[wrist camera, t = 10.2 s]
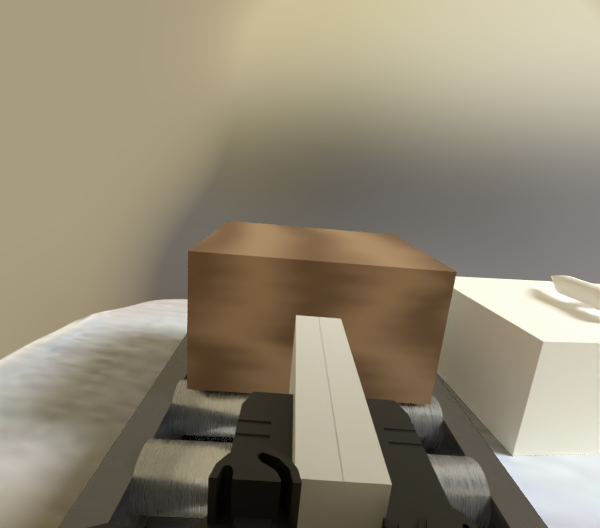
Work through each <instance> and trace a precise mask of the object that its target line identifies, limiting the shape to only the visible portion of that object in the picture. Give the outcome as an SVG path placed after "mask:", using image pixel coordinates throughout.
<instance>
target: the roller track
mask: <svg viewBox="0 0 600 528" xmlns="http://www.w3.org/2000/svg"><path fill="white" fill-rule="evenodd" d="M251 394H252V393H238V392H222V391H206V390H190V389H187V334H186V336H185V337H184V339H183V340H182V342H181V344H180V345H179V347H178V348H177V350H176V351H175V353H174V354H173V356H172V357H171V359H170V360H169V362H168V363H167V365H166V366H165V368H164V369H163V371H162V372H161V374H160V375H159V377H158V378H157V380H156V381H155V383H154V384H153V386H152V387H151V389H150V390H149V392H148V393H147V395H146V396H145V398H144V399H143V401H142V402H141V404H140V405H139V407H138V408H137V410H136V411H135V413H134V414H133V416H132V417H131V419H130V421H129V422H128V424H127V425H126V427H125V428H124V430H123V431H122V433H121V434H120V436H119V437H118V439H117V440H116V442H115V443H114V445H113V446H112V448H111V449H110V451H109V452H108V454H107V455H106V457H105V458H104V460H103V461H102V463H101V464H100V466H99V467H98V469H97V470H96V472H95V473H94V475H93V476H92V478H91V479H90V481H89V482H88V484H87V485H86V487H85V488H84V490H83V491H82V493H81V494H80V496H79V498H78V499H77V501H76V502H75V504H74V505H73V507H72V508H71V510H70V511H69V513H68V514H67V516H66V517H65V519H64V520H63V522H62V523H61V525H60V526H59V528H88V527H92V526H96V525H101V524H105V523H112V524H122V525H126V526H128V527H129V528H145V526H146V523H147V521H148V518H149V516H165V517H185V518H205V517H206V516H207V506H208V477H209V475H210V474H211V472H212V470H213V468H214V466H215V464H216V463H217V462H219V461H220V460H221V459H222V458H223V457H225V456H226V455H227V454H228V453H230V452H231V448H232V444H233V443H223V442H206V441H188V440H181V439H182V437H183V435H198V436H216V437H233V438H234V436H235V431H236V427H237V423H238V419H239V415H240V410H241V406H242V403H243V402H244V401H245V400H246V399H247V398H248V397H249V396H250V395H251ZM396 403H397V402H396ZM397 404H398V405H399V406H400V407H401V408H402V409H403V410H404V411H405V412H406V413H408V415H409V417H410V419H411V421H412V423H413V426H414V428H415V430H416V434H418V436H419V438H420V441H421V443H422V448H424V449H425V451H426V453H427V456H428V458H429V460H430V462H431V464H432V466H433V468H434V471H435V473H436V475H437V477H438V479H439V481H440V483H441V486H442V488H443V490H444V492H445V494H446V496H447V499H448V501H449V503H450V505H451V507H453V508H455V509H457V510H459V511H461V512H462V513H463V514H464V515H465V516H467V517H468V518H469V519H470V520H471V521H472V522H473V523H475V524H476V525H477V527H478V528H548V527H547V526H546V524H545V523H544V522H543V520H542V519H541V517H540V516H539V515H538V513H537V512H536V510H535V509H534V508H533V506H532V505H531V504H530V502H529V501H528V499H527V498H526V497H525V495H524V494H523V493H522V491H521V490H520V488H519V487H518V486H517V484H516V483H515V481H514V480H513V479H512V477H511V476H510V475H509V473H508V472H507V470H506V469H505V468H504V466H503V465H502V464H501V462H500V461H499V459H498V458H497V457H496V455H495V454H494V452H493V451H492V450H491V448H490V447H489V446H488V444H487V443H486V441H485V440H484V439H483V437H482V436H481V434H480V433H479V432H478V430H477V429H476V428H475V426H474V425H473V423H472V422H471V421H470V419H469V418H468V417H467V415H466V414H465V412H464V411H463V410H462V408H461V407H460V405H459V404H458V403H457V401H456V400H455V399H454V397H453V396H452V394H451V393H450V392H449V390H448V389H447V388H446V386H445V385H444V383H443V382H442V381H441V379H440V378H439V376H438V375H437V374H436V379H435V384H434V389H433V394H432V399H431V404H430V405H429V404H413V403H397Z"/></svg>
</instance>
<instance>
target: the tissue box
mask: <svg viewBox="0 0 600 528" xmlns="http://www.w3.org/2000/svg"><path fill="white" fill-rule="evenodd" d="M551 278H552V281H553V282H549V281H530V280H511V279H491V278H472V277H456V278H455V283H454V288H453V293H452V298H451V303H450V308H449V313H448V318H447V323H446V328H445V333H444V338H443V343H442V348H441V353H440V358H439V364H438V369H437V373H438V374H439V375H440V376H441V377H442V379H443V380H444V381H445V382H446V383H447V384H448V385H449V386H450V387H451V389H452V390H453V391H454V392H455V393H456V394H457V395H458V396H459V397H460V399H461V400H462V401H463V402H464V403H465V404H466V405H467V406H468V407H469V409H470V410H471V411H472V412H473V413H474V414H475V415H476V416H477V417H478V419H479V420H480V421H481V422H482V423H483V424H484V425H485V426H486V427H487V429H488V430H489V431H490V432H491V433H492V434H493V435H494V436H495V437H496V439H497V440H498V441H499V442H500V443H501V444H502V445H503V446H504V447H505V449H506V450H507V451H508V452H509V453H510V454H511V455H512V456H552V455H600V284H592V283H589V282H586V281H583V280H579V279H577V278H574V277H571V276H551Z"/></svg>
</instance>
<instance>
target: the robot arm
mask: <svg viewBox="0 0 600 528" xmlns="http://www.w3.org/2000/svg"><path fill="white" fill-rule="evenodd" d="M88 528H129V527H128V526H126V525H122V524H112V523H105V524H101V525H96V526H92V527H88ZM191 528H478V527H477V525H476V524H475V523H473V522H472V521H471V520H470V519H469V518H468V517H467V516H465V515H464V514H463V513H462V512H461V511H459V510H457V509H455V508H453V507H451V505H450V503H449V501H448V499H447V496H446V494H445V492H444V490H443V488H442V486H441V483H440V481H439V479H438V477H437V475H436V473H435V471H434V468H433V466H432V464H431V462H430V460H429V458H428V456H427V453H426V451H425V449H424V448H422V443H421V441H420V438H419V436H418V434H416V430H415V428H414V426H413V423H412V421H411V419H410V417H409V415H408V413H406V412H405V411H404V410H403V409H402V408H401V407H400V406H399V405H398V404H397V403H396V402H395V401H394V400H384V399H370V398H365V395H364V392H363V389H362V386H361V382H360V379H359V376H358V373H357V369H356V366H355V363H354V360H353V356H352V353H351V350H350V347H349V343H348V340H347V337H346V334H345V330H344V327H343V324H342V320H341V319H338V318H325V317H313V316H300V315H296V321H295V332H294V343H293V354H292V365H291V376H290V387H289V394H281V393H267V392H253V393H252V394H251V395H250V396H249V397H248V398H247V399H246V400H245V401H244V402H243V403H242V406H241V410H240V415H239V419H238V423H237V427H236V431H235V436H234V439H233V444H232V448H231V452H230V453H228V454H227V455H226V456H225V457H223V458H222V459H221V460H220V461H219V462H217V463H216V464H215V466H214V468H213V470H212V472H211V474H210V475H209V477H208V506H207V516H206V517H205V518H203V519H202V520H201V521H200V522H199V523H197V524H196V525H194V526H193V527H191Z"/></svg>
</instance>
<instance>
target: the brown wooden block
mask: <svg viewBox="0 0 600 528" xmlns="http://www.w3.org/2000/svg"><path fill="white" fill-rule="evenodd" d="M456 273H457V272H456V271H454V270H452V269H451V268H449V267H447V266H446V265H444V264H442V263H441V262H439V261H437V260H436V259H434V258H432V257H430V256H429V255H427V254H425V253H424V252H422V251H420V250H419V249H417V248H415V247H414V246H412V245H410V244H409V243H407V242H405V241H404V240H402V239H400V238H398V237H397V236H395V235H391V234H377V233H367V232H354V231H342V230H330V229H318V228H304V227H294V226H282V225H269V224H257V223H245V222H233V221H228V222H227V223H226V224H224V225H223V226H222V227H220V228H219V229H217V230H216V231H215V232H213V233H212V234H211V235H209V236H208V237H207V238H205V239H204V240H203V241H201V242H200V243H198V244H197V245H196V246H195V247H193V248H192V249H190V250H189V251H188V323H187V389H190V390H206V391H222V392H238V393H253V392H267V393H281V394H289V387H290V376H291V365H292V354H293V343H294V332H295V321H296V315H300V316H313V317H325V318H338V319H341V320H342V324H343V327H344V330H345V334H346V337H347V340H348V343H349V347H350V350H351V353H352V356H353V360H354V363H355V366H356V369H357V373H358V376H359V379H360V382H361V386H362V389H363V392H364V395H365V398H370V399H384V400H394V401H395V402H397V403H413V404H429V405H430V404H431V399H432V394H433V389H434V384H435V379H436V374H437V369H438V364H439V358H440V353H441V348H442V343H443V338H444V333H445V328H446V323H447V318H448V313H449V308H450V303H451V298H452V293H453V288H454V283H455V278H456Z"/></svg>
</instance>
